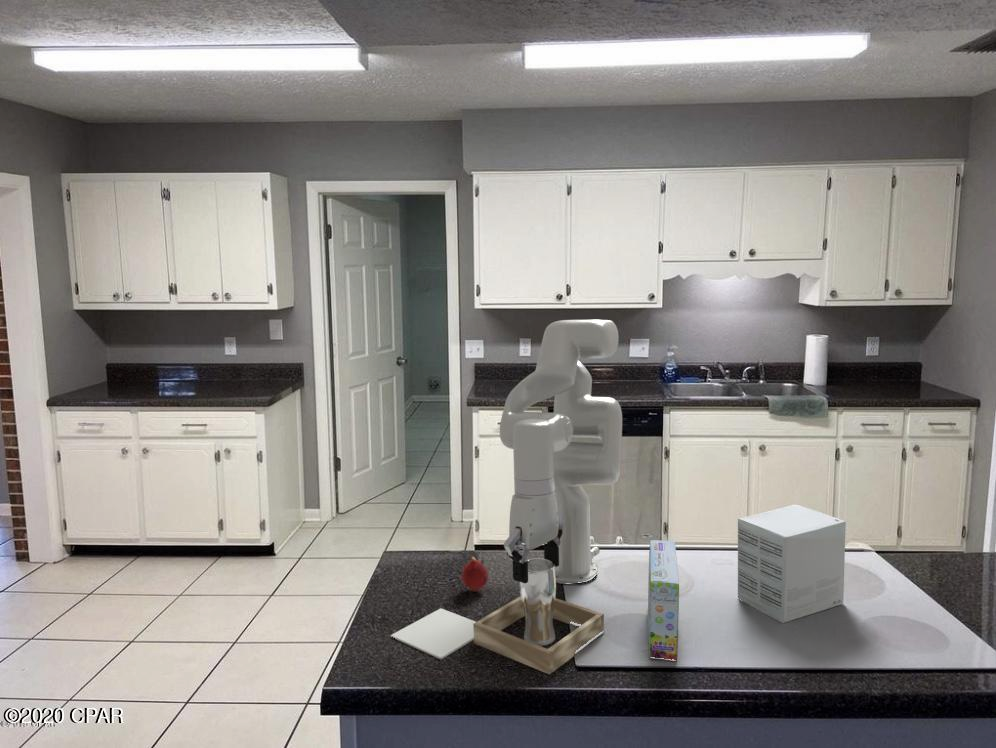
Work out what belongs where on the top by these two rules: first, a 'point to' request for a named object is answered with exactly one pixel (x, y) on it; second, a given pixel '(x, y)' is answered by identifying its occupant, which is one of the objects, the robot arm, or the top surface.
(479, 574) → the onion
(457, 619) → the mat
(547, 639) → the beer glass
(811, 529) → the supplement box
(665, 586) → the snack box
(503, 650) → the wooden frame
